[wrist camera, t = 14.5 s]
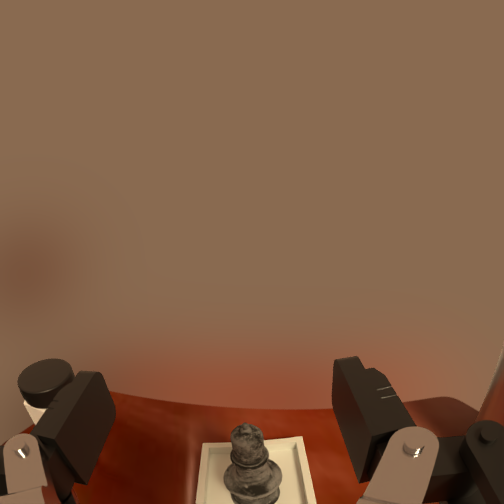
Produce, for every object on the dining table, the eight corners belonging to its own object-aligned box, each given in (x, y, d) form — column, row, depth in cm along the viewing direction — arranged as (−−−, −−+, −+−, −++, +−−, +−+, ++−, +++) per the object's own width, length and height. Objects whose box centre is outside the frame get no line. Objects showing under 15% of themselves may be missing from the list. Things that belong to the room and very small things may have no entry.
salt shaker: (255, 465, 30) (245, 392, 27) (294, 489, 26) (295, 419, 23) (216, 493, 26) (195, 423, 23) (255, 522, 22) (243, 459, 19)
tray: (301, 446, 33) (302, 436, 33) (320, 538, 20) (322, 531, 19) (205, 452, 33) (202, 442, 33) (196, 544, 20) (191, 538, 19)
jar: (55, 423, 36) (25, 359, 33) (101, 418, 39) (74, 353, 36) (50, 463, 28) (9, 396, 25) (102, 460, 30) (66, 391, 28)
